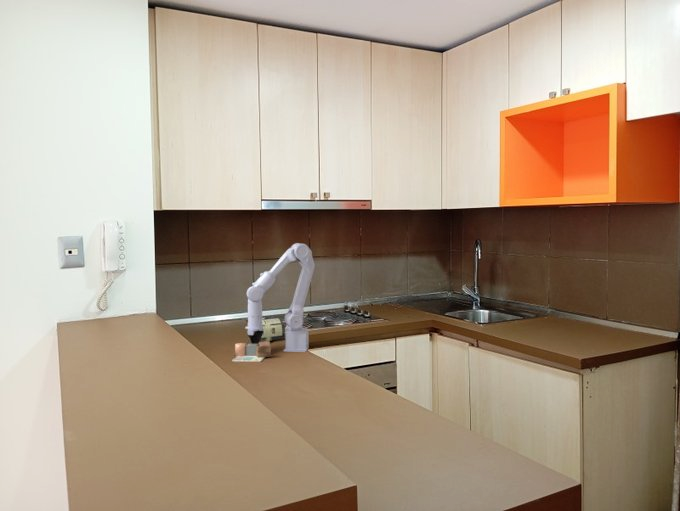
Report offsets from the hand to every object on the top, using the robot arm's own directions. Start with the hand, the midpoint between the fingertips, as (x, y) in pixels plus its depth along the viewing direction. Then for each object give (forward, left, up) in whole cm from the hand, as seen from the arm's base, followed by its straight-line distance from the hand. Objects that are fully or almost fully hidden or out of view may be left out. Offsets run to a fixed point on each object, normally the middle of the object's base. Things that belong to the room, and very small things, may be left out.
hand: (256, 349), depth 219 cm
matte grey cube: (0, +5, -1) cm, 5 cm away
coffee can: (+7, -17, +4) cm, 18 cm away
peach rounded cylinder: (-4, +2, -1) cm, 5 cm away
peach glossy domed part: (+4, +6, -1) cm, 8 cm away
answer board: (0, +7, -2) cm, 7 cm away
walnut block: (-5, +7, -1) cm, 9 cm away
